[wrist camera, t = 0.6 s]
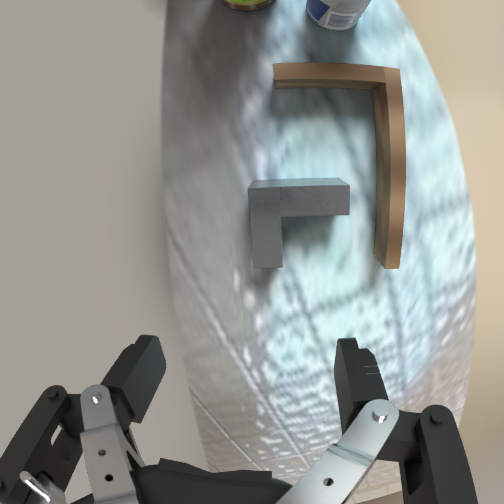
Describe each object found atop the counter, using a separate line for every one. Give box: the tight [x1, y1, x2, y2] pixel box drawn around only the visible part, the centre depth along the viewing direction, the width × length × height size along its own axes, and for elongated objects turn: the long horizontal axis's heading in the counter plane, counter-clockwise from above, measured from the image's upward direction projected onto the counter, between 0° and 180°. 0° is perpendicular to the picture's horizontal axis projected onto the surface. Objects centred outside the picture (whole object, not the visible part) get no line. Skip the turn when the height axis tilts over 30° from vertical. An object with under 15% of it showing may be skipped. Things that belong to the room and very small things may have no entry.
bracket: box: [248, 178, 350, 268], centre depth 26 cm, size 7×8×5 cm
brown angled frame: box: [273, 63, 406, 269], centre depth 24 cm, size 18×11×4 cm, turn 4°
